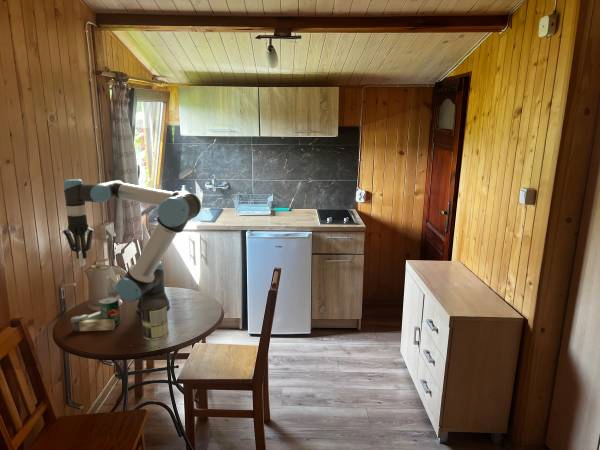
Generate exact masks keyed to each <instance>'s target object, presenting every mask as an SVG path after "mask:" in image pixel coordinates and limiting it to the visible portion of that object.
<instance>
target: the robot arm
mask: <svg viewBox="0 0 600 450" xmlns="http://www.w3.org/2000/svg"><path fill="white" fill-rule="evenodd" d="M63 192H64V198H65V207H66V215H67V223H68V226H67V228H66V229H65V230H63V231H62V234H63V235H65V237H66V240H67V242H68V245H69V247H70V250H71V251H72V252H75V253H76V259H77V260H78V261H79V267H85V266H86V264H87V262H86V259H87V258H88V255H87V252H88V251H89V250H90V249H91V248H92V240H93V233H94V232H95V229H94V228H91V227H90V226H89V224H88V217H87V214H86V213H87V209H86V202H87V203H88V202H89V203H106V202H108V201H109V200H110V199H119V200H124V201H129V202H135V203H138V204H139V203H140V204H144V205H149V206H155V207H158V210H157V214H158V215H157V218H156V222H157V224H156V226H155V229H154V230H153V232H152V234H151V235H150V238H148V241H147V243H146V245H145V246H144V248H143V250H142V252H141V253H140V255H139V257H138V259H137V260H136V263H135V264H133V265H130V266H129V268H128V269H127V271H126V273H125V274H124V276H123V277H121V278H120V279H119V280H117V282H116V284H115V289H116V290H115V291H116V292H117V295H118V297H119V298H120V299H121V300H123V301H125V302H127V303H134V302H136V312H137V313H139V314H141V306H140V305H141V303H143V302H144V301H147V300H151V299H163V300H165V301H166V302H167V304H166V307H167V310H168V309H169V308H170V300H169V297H168V295H167V293H166V290H165V276H164V274H165V273H164V271H165V269H164V265H163V263H162V262H161V261H162V259H163V258H164V255H166V252H167V251H168V249H169V247H170V246H171V244H172V242H173V240H174V239H175V237H176V235H177V234H178V233H179V234H180V233H182V232H183V230H184V229H185V227H186V225H187V224H188V222H189V221H191V220H193V219H195V218H196V217H197V216H198V215H199V213H201V209H202V202H201V200H200V199H199V196H197V195H196V194H194V193H192V192H188V191H181V190H175V191H170V190H169V191H168V190H162V189H157V188H152V187H148V186H147V187H146V186H143V185H136V184H131V183H125V182H123V181H122V180H120V179H117V180H116V179H113V180H110V181H105V182H100V183H99V182H98V183H95V184H94V183H93V184H87V183H85V184H84V182H83V180H82V179H81V178H71V179H65V180H63ZM86 233H87V237H86Z"/></svg>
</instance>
